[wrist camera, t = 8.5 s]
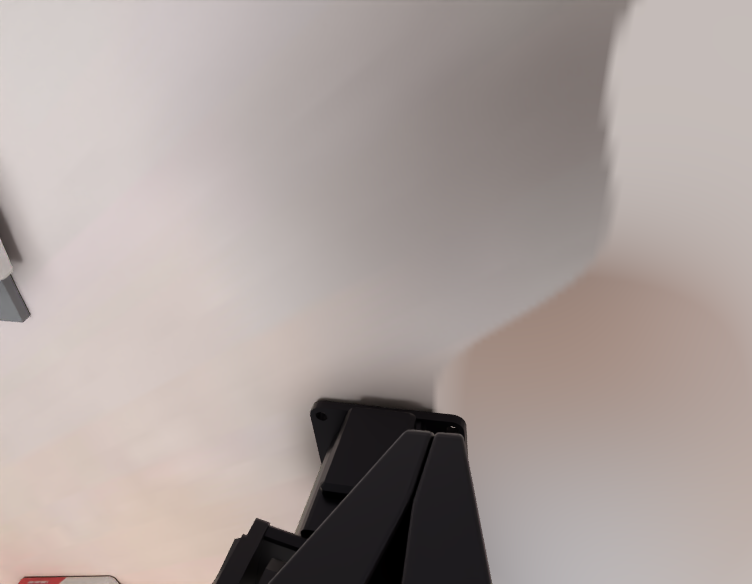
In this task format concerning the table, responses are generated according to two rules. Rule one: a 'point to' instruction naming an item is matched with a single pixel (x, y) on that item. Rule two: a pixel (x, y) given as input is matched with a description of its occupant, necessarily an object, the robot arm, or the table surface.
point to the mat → (11, 302)
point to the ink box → (69, 580)
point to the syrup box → (4, 263)
